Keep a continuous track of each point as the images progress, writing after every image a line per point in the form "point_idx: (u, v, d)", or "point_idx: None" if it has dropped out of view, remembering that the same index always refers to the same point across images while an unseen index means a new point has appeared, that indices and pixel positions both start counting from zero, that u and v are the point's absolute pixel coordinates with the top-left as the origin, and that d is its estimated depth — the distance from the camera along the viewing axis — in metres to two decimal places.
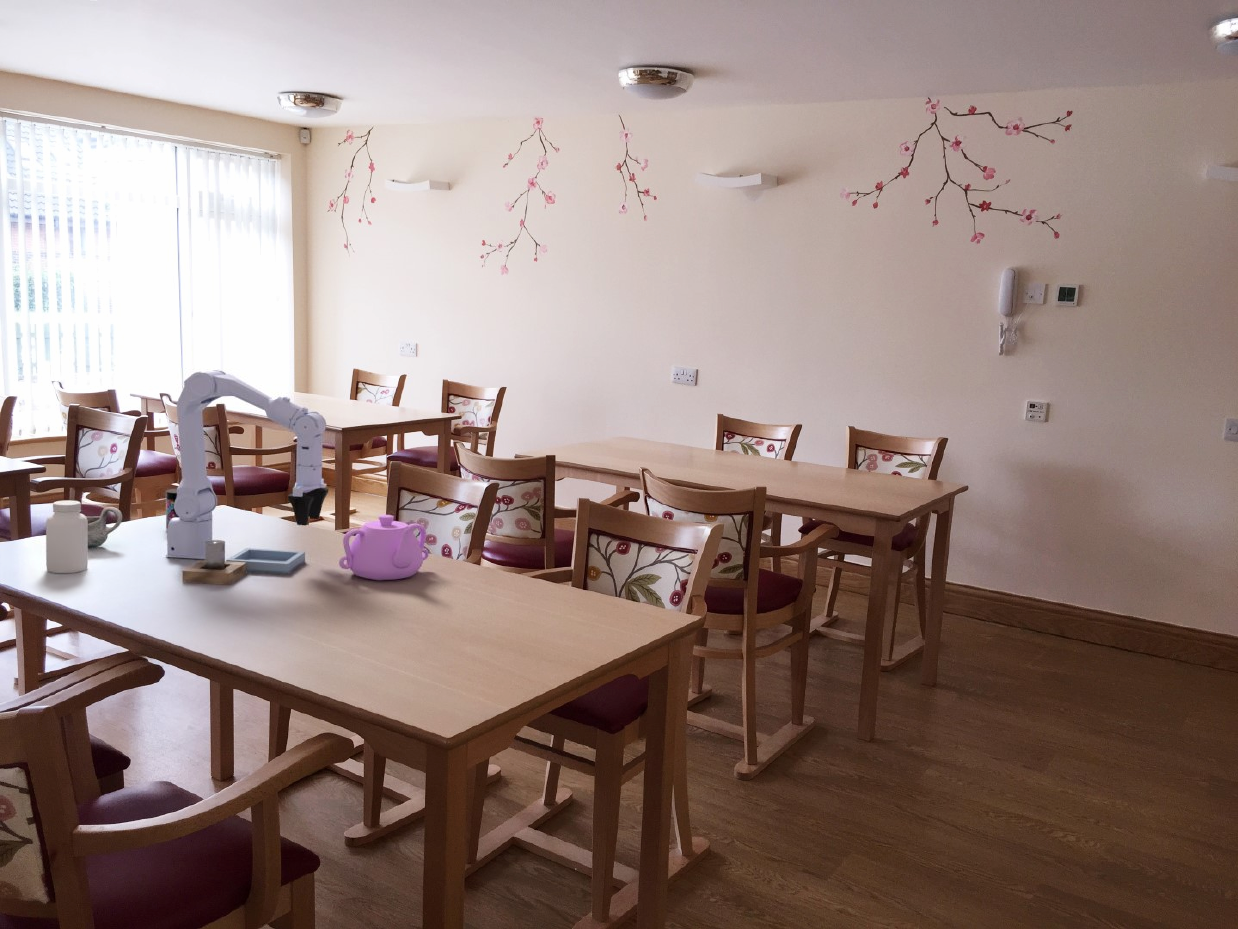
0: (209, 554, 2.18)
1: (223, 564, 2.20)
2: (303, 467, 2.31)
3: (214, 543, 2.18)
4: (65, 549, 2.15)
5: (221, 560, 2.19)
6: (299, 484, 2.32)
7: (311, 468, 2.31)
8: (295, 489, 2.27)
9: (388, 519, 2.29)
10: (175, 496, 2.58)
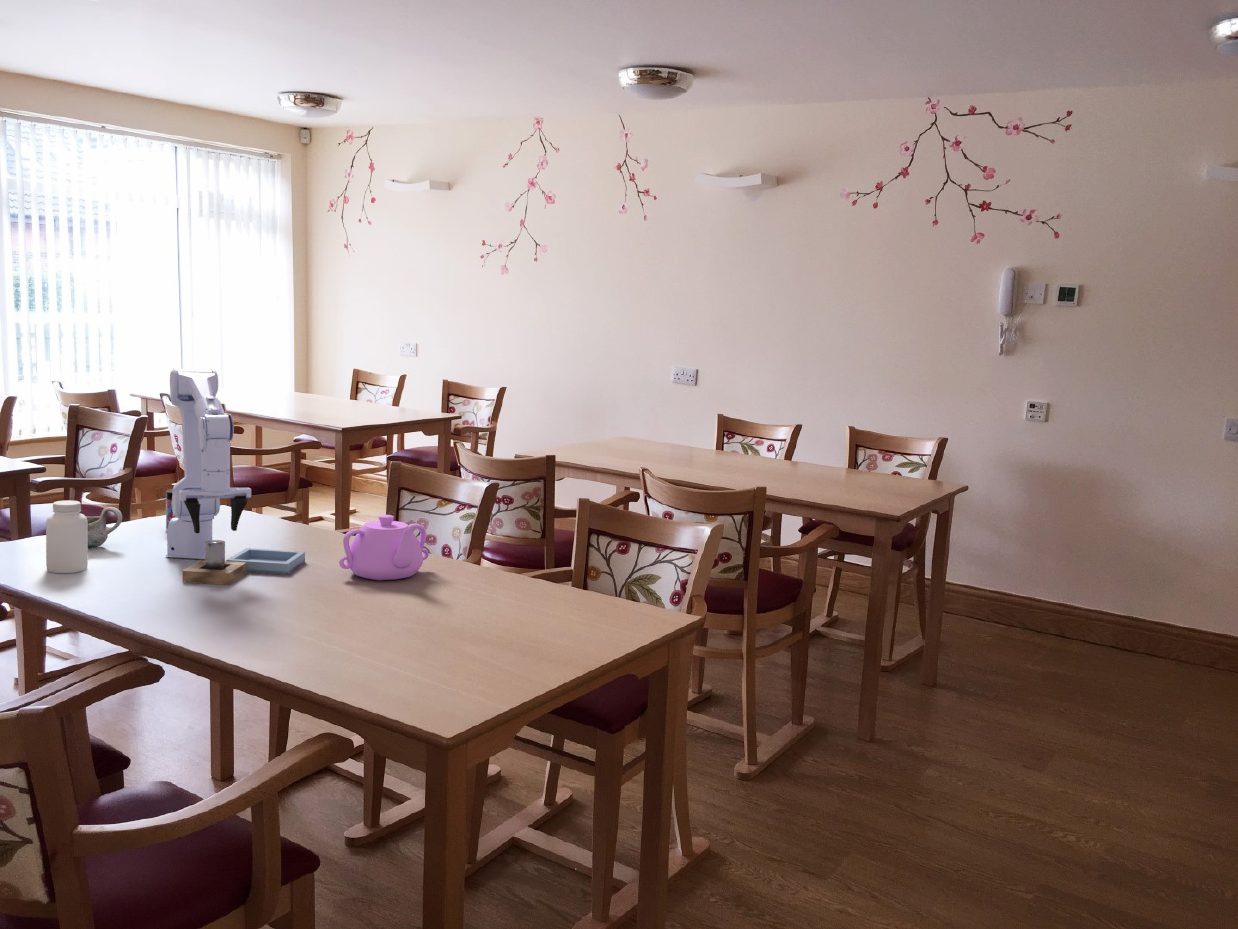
0: (209, 554, 2.18)
1: (223, 564, 2.20)
2: (201, 471, 2.16)
3: (214, 543, 2.18)
4: (65, 549, 2.15)
5: (221, 560, 2.19)
6: (201, 489, 2.17)
7: (205, 473, 2.14)
8: (179, 492, 2.14)
9: (388, 519, 2.29)
10: None
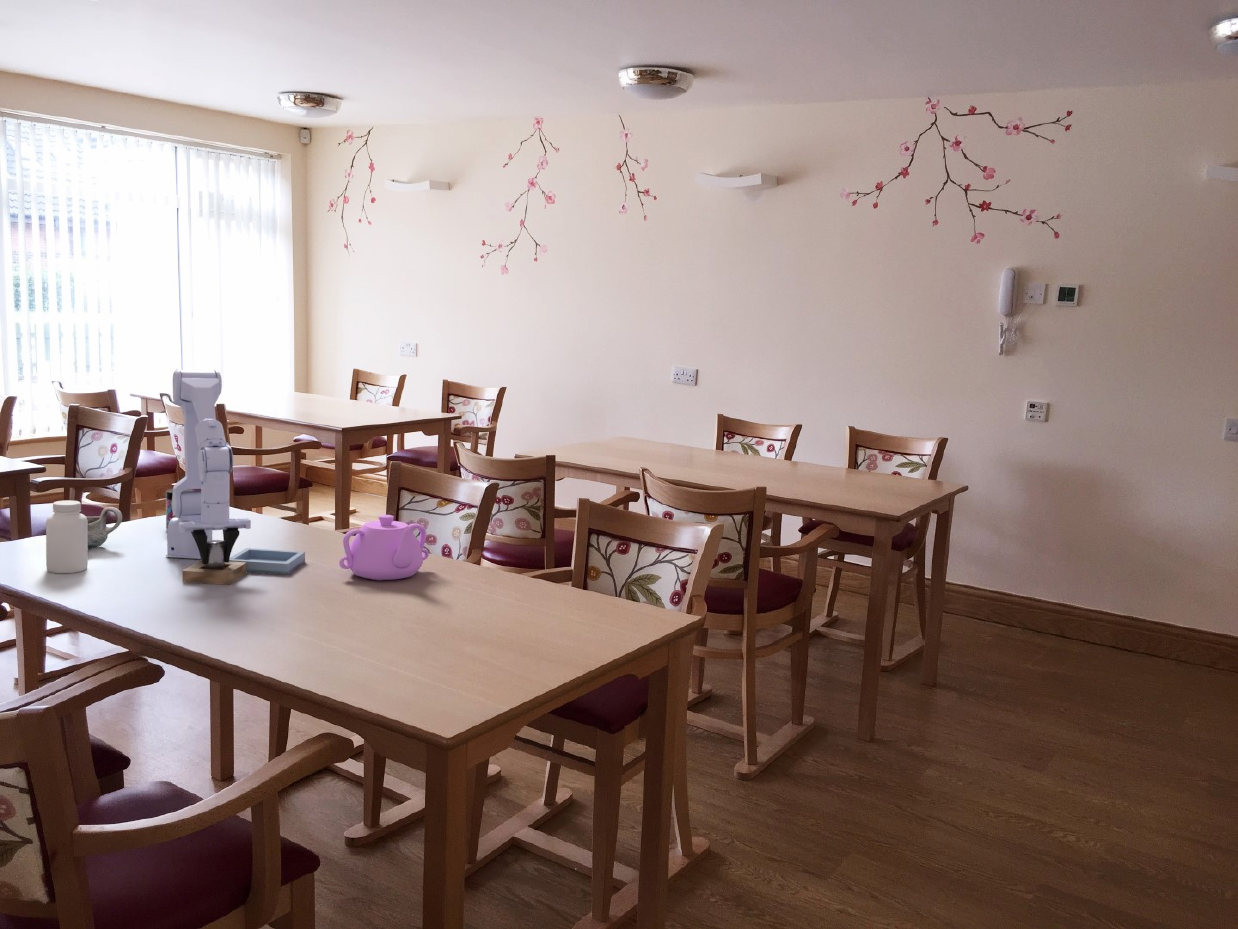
0: (209, 554, 2.18)
1: (223, 564, 2.20)
2: (201, 503, 2.17)
3: (214, 543, 2.18)
4: (65, 549, 2.15)
5: (221, 560, 2.19)
6: (201, 520, 2.18)
7: (205, 505, 2.15)
8: (179, 524, 2.15)
9: (388, 519, 2.29)
10: None
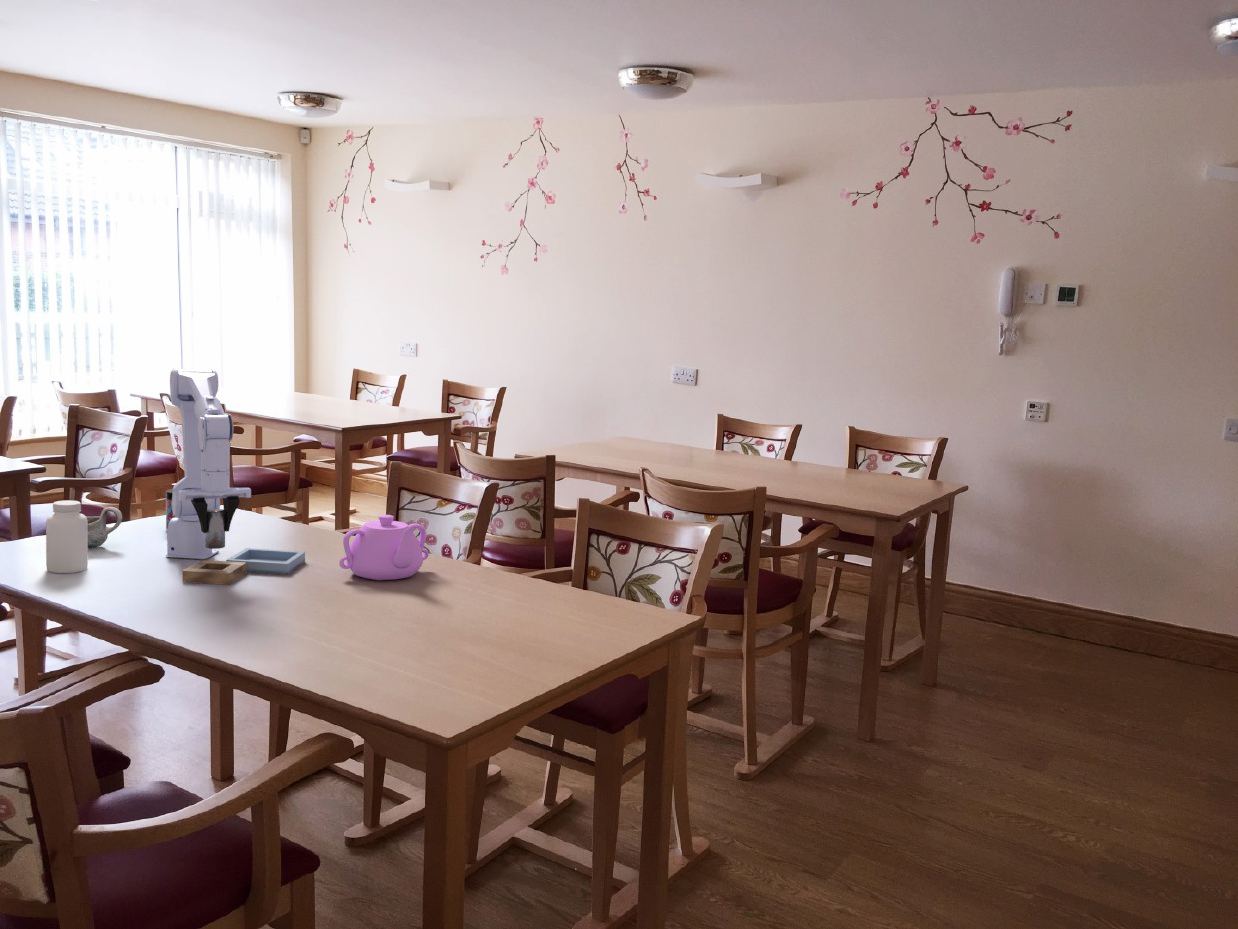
0: (209, 522, 2.17)
1: (223, 533, 2.19)
2: (201, 471, 2.16)
3: (214, 511, 2.17)
4: (65, 549, 2.15)
5: (221, 528, 2.18)
6: (201, 489, 2.17)
7: (205, 473, 2.14)
8: (179, 492, 2.14)
9: (388, 519, 2.29)
10: None
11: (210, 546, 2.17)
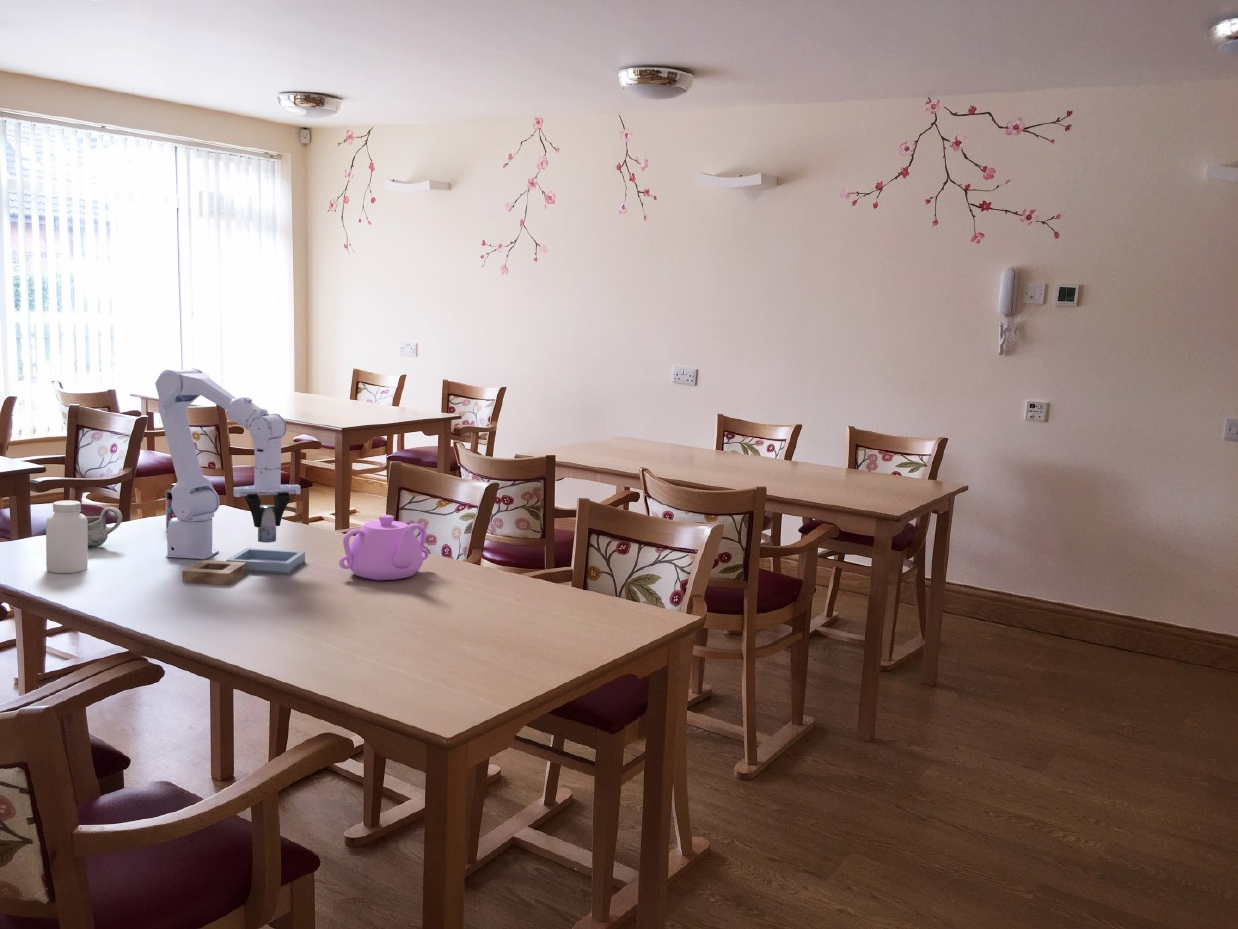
0: (261, 517, 2.28)
1: (275, 527, 2.30)
2: (254, 469, 2.28)
3: (266, 507, 2.29)
4: (65, 549, 2.15)
5: (273, 523, 2.30)
6: (254, 486, 2.29)
7: (258, 470, 2.26)
8: (233, 489, 2.26)
9: (388, 519, 2.29)
10: None
11: (262, 540, 2.29)
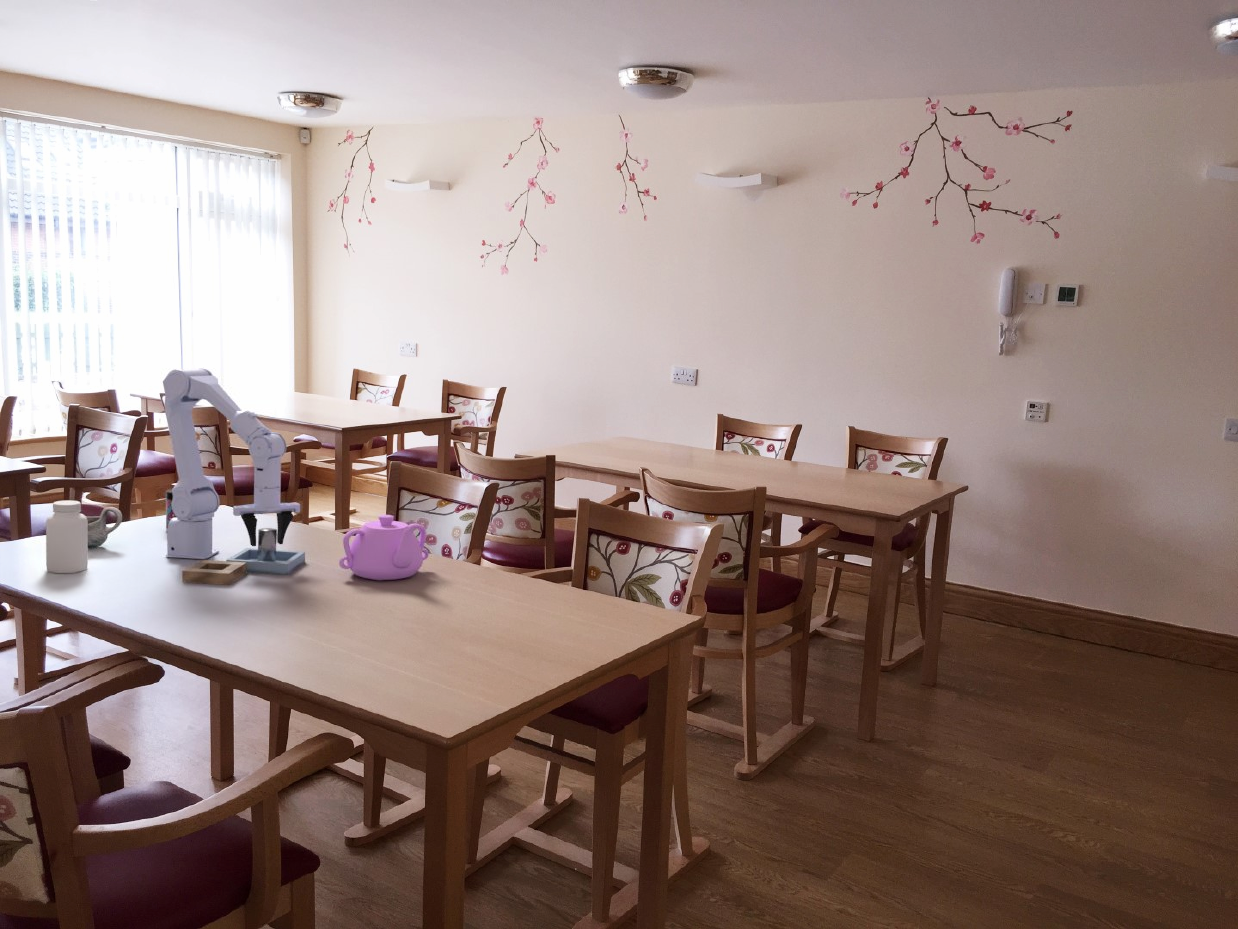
0: (261, 541, 2.29)
1: (274, 551, 2.31)
2: (254, 487, 2.28)
3: (267, 531, 2.30)
4: (65, 549, 2.15)
5: (273, 547, 2.30)
6: (254, 504, 2.30)
7: (258, 489, 2.27)
8: (233, 507, 2.26)
9: (388, 519, 2.29)
10: None
11: None
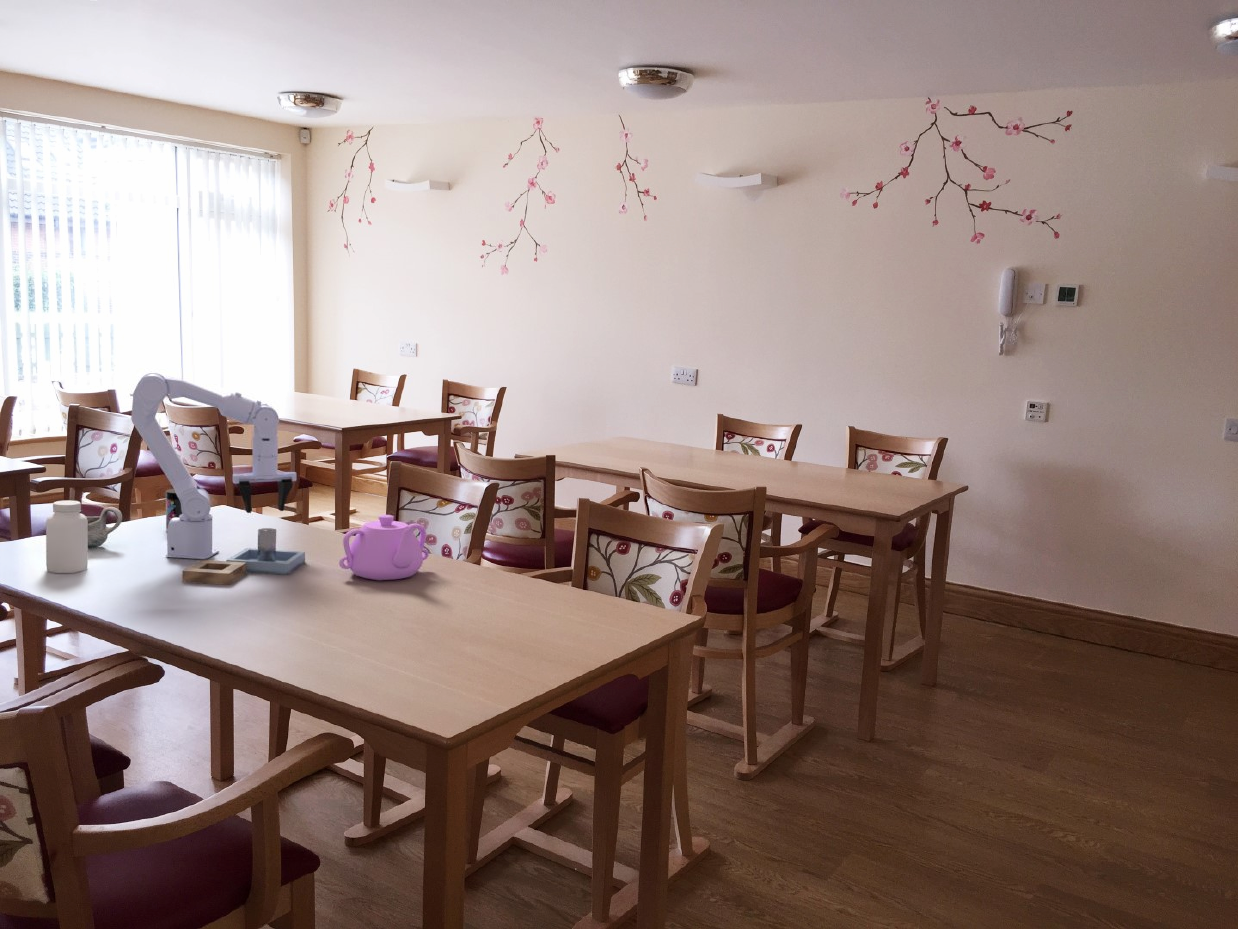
0: (261, 541, 2.29)
1: (274, 551, 2.31)
2: (252, 457, 2.39)
3: (266, 531, 2.30)
4: (65, 549, 2.15)
5: (273, 547, 2.30)
6: (252, 473, 2.41)
7: (256, 458, 2.38)
8: (233, 476, 2.38)
9: (388, 519, 2.29)
10: (175, 496, 2.58)
11: None
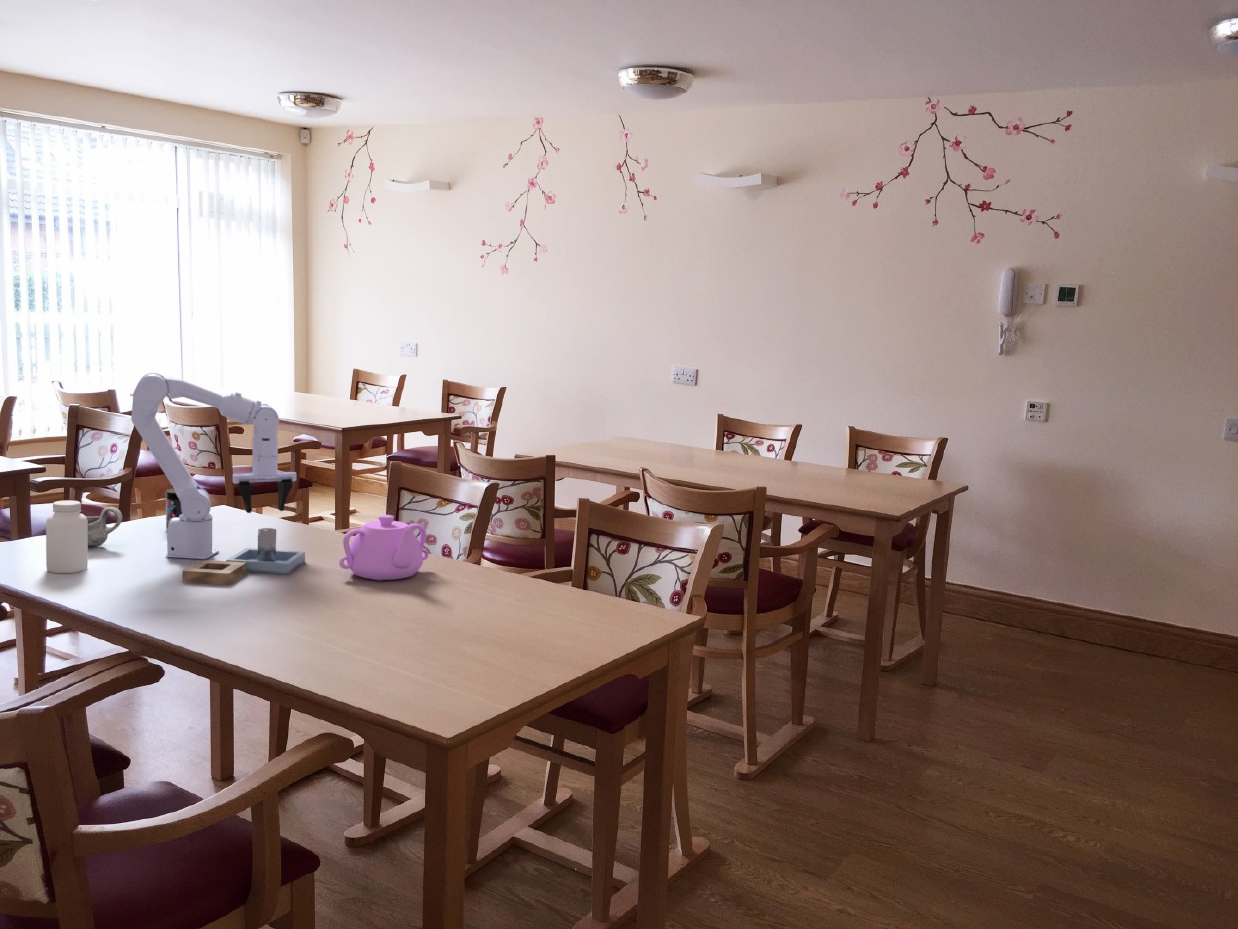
0: (261, 541, 2.29)
1: (274, 551, 2.31)
2: (252, 457, 2.39)
3: (266, 531, 2.30)
4: (65, 549, 2.15)
5: (273, 547, 2.30)
6: (252, 473, 2.41)
7: (256, 458, 2.38)
8: (233, 475, 2.38)
9: (388, 519, 2.29)
10: (175, 496, 2.58)
11: None
